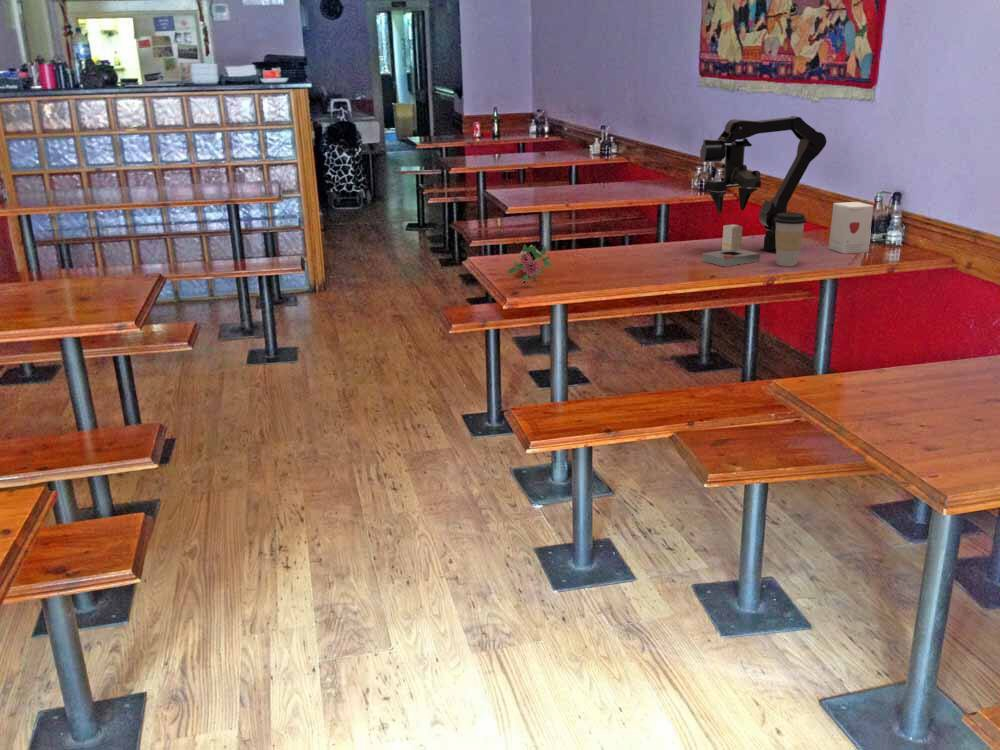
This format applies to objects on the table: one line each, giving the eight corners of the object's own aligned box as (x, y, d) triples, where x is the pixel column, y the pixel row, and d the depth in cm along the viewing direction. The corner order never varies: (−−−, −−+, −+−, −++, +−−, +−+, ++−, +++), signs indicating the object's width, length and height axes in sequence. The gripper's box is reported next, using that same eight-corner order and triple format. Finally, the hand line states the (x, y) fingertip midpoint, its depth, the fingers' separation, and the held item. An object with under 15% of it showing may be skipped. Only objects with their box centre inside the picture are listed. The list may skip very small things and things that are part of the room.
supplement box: (843, 254, 294) (848, 206, 289) (827, 249, 302) (832, 202, 297) (869, 252, 295) (874, 205, 291) (852, 247, 304) (857, 201, 299)
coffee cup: (779, 268, 276) (783, 217, 271) (764, 262, 285) (768, 212, 280) (808, 266, 278) (813, 216, 273) (793, 260, 287) (797, 211, 282)
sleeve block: (736, 256, 294) (737, 246, 293) (759, 261, 285) (760, 252, 284) (702, 261, 287) (702, 251, 287) (724, 267, 279) (724, 257, 278)
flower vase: (537, 289, 289) (549, 291, 254) (500, 278, 288) (506, 278, 253) (548, 252, 288) (561, 249, 253) (510, 241, 287) (518, 236, 252)
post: (731, 248, 288) (733, 224, 286) (741, 250, 284) (743, 226, 282) (721, 249, 286) (722, 225, 284) (730, 251, 283) (732, 227, 280)
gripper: (729, 165, 279) (725, 217, 285) (775, 161, 288) (771, 212, 293) (704, 162, 289) (701, 213, 294) (750, 158, 297) (746, 207, 302)
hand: (731, 211), depth 295 cm, fingers open, 9 cm apart
